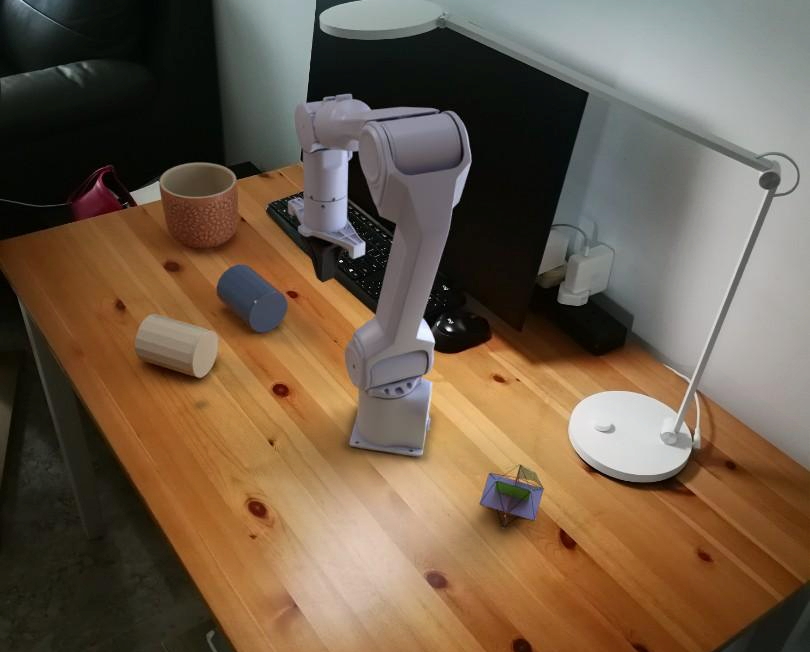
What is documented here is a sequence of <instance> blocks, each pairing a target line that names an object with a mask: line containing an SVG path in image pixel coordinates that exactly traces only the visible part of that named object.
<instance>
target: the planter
mask: <svg viewBox="0 0 810 652" xmlns="http://www.w3.org/2000/svg"><path fill="white" fill-rule="evenodd" d="M158 183H159V184H158V185H159V193H160V199H161V204H162V208H163V214H164V220H165V224H166V228H167V230H168V232H169V233H170V235H171V237H172V238H173V239H174V240H176V241H177V242H178V243H180V244H182V245H184V246H186V247H189V248H192V249H200V250H204V249H205V250H206V249H212V248H216V247H219V246H221V245H223V244H224V243H226V242H228V241H229V240H230V239H231V238H232V237H233V236H234V235H235V233H236V231H237V229H238V225H239V189H238V188H239V187H238V180H237V176H236V174H235V173H234V171H232V170H231V169H229V168H228V167H226V166H223V165H221V164H217V163H211V162H187V163H184V164H179V165H176V166H173V167H171V168H169V169H167V170H166V171H165V172H163V174H161V176H160V178H159V182H158Z"/></svg>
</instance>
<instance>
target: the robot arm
mask: <svg viewBox="0 0 810 652" xmlns="http://www.w3.org/2000/svg"><path fill="white" fill-rule="evenodd" d="M439 112H440V110H439V109H436V108H432V107H411V106H410V107H409V106H398V107H388V108H379V109H371V108H370V106H368V104H366V103H365V102H363V101H362V100H358V99H355V98H353V94H352V93H344V94H336V95H335V96H325V97H323V98H322V100H320V101H312V102H311V101H310V102H300V103H299V104H297V106H296V108H295V111H294V125H295V130H296V131H295V132H296V136H297V137H296V138H297V141H298V143H299V146H300V147H301V149H302V172H303V173H302V175H303V177H302V179H303V180H302V181H303V198H301V197H296V198H293V199H290V200H288V201H287V213H288V214H289V215H290V216H291V217H295V216H296V218H297V220H298V222H299V223H300V225H298V227H297V232H298V233H299V239H300V240H301V242H302V244H303V245H304V246H305V249H306V250H307V253H308V255H309V257H310V260H311V263H312V267H313V270H314V274H315V277H316V279H317V280H318V281H320V282H321V283H326V282H328V281H330V280H333V279H334V278H335V274H336V271H337V267H338V265H339V262H340V260H341V258H342V256H343V254H344V252H345V251H347V252H348V256H349V258H351V259H352V260H355V259H357V258H360V257H363V256H364V255H365V254H366V241H364V240H363V239H362V238H361V237H360V236H359V235H358V233H357V231H356V230H355V228H354V227H353V225H352V223H351V222H350V220H349V218H348V184H349V183H348V181H349V180H348V179H349V161H350V160H352V158H353V152H358V157H359V158H358V159H359V163H360V167H361V170H362V172H363V175H364V177H365V180H366V183H367V186H368V189H369V192H370V195H371V198H372V202H373V203H374V205H375V207H376V210H377V213H378V215H379V217H381V218H383V219H385V220H388V221H390V222H392V223H394V224H396V225H395V230H394V234H393V238H392V243H391V247H390V251H389V256H388V260H387V264H386V268H385V273H384V277H383V280H382V286H381V290H380V294H379V298H378V302H377V307H376V311H375V315H374V317H371V319H370V320H368V321H367V322H365V323H364V324H362V325H361V326H360V327H358V328H357V329H355V330H354V331H353V335H352V338H351V340H349V341H348V342H347V344H346V347H345V349H344V362H345V368H346V371H347V375H348V377H349V380H350V382H351V383H352V384H353V386H354V387H356V388H357V389H358V396H357V397H358V398H357V399H358V400H357V414H356V417H355V420H354V425H353V428H352V432H351V434H350V438H349V439H350V440H349V446H350V447H352V448H360V449H366V450H371V451H379V452H385V453H391V454H398V455H404V456H411V457H418V458H420V457H422V456H423V452H424V447H425V442H426V436H427V432H429V431H430V428H431V419H432V418H431V417H430V412H431V403H432V393H433V381H431V380H428V379H425V378H423V376H425V375H426V376H427V375H429V374H430V373H431V371H432V369H433V366H434V363H435V354H434V353H435V352H434V350H435V349H434V348H435V344H436V341H435V337H434V335H433V334H434V333H433V332H432V330H431V328H430V326H429V324H428V322H427V321H426V319H425V318H424V314H425V311H426V308H427V304H428V302H429V297H430V294H431V291H432V288H433V285H434V281H435V278H436V275H437V272H438V268H439V265H440V261H441V258H442V256H443V252H444V248H445V246H446V242H447V239H448V236H449V231H450V229H451V227H450V226H451V222H452V215H453V209H454V208H455V207H456V206H457V204H459V203H460V201H461V200H460V199H461V197H462V194H463V190H464V188H465V184H466V180H467V177H468V174H469V171H470V167H471V164H472V162H473V161H472V153H471V152H472V151H471V147H470V141H469V140H470V139H469V135H468V131H467V128H466V126H465V124H464V122H463V121H462V120H461V118H460V116H459V115H457V113H456V112H454V111H452V110H445V111H442V112H440V113H439Z"/></svg>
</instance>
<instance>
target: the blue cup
mask: <svg viewBox="0 0 810 652" xmlns="http://www.w3.org/2000/svg"><path fill="white" fill-rule="evenodd" d="M215 289H216V296H217V297H218V299H219V301H220V302H221V303H223V304H224V305H225V306H226V307H227V308H228V309H229V310H231V312H233V313H234V314H235V315H236V316H237V317H238V318H239V319H241V321H243V322H244V323H245V324H246V325H247V326H248V327H249V328H250V329H252V330H253V331H255V332H257V333H267V332H270V331H272V330H274V329H275V328H277V327H278V326H279V325H280V324H281V323H282V321H283V320H284V319H285V317H286V315H287V312H288V309H289V307H288V306H289V305H288V299H287V297H286V296H285V295H284V294H283V293H282V291H280V290H279V289H277V287H275V286H274V285H272V284H271V283H270V282H269V281H268V280H267V279H265V278H264V277H263V276H262V275H260V274H259V273H258V272H257V271H256V270H254V268H252V267H250V266H249V265H247V264H243V263H242V264H241V263H239V264H235V265H233V266H230V267H228V268H227V269H226V270H224V272H223V273H222V274H221V276H220V277H219V279H218V281H217V283H216V288H215Z"/></svg>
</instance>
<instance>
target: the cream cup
mask: <svg viewBox="0 0 810 652" xmlns="http://www.w3.org/2000/svg"><path fill="white" fill-rule="evenodd" d="M134 350H135V355H136V357H137V358H138V359H139V360H140V361H142V362H143V361H144V362H147V363H150V364H154V365H157V366H159V367H162V368H166V369H168V370H169V369H170V370H173V371H176V372H179V373H182V374H185V375H189V376H191V377H195V378H199V379H200V378H201V379H202V378H204V377H205V376H206V375H207V374H208V373H209V372H210V371H211V369H212V368H213V367H214V364H215V363H216V359H217V356H218V353H219V337H218V334H217V333H216V332H215V331H214V330H211V329H208V328H205V327H201V326H198V325H195V324H193V323H192V324H191V323H189V322H185V321H181V320H178V319H174V318H171V317H168V316H164V315H161V314H158V313H151V314H149V315H147V317H145V318H144V319H143V320H142V322H141V324H140V325H139V326H138V329H137V333H136V335H135V340H134Z"/></svg>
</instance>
